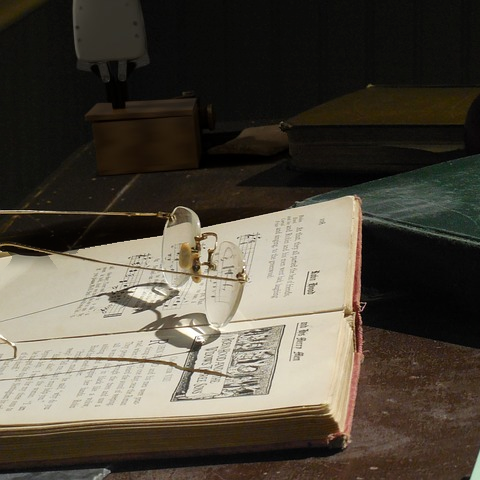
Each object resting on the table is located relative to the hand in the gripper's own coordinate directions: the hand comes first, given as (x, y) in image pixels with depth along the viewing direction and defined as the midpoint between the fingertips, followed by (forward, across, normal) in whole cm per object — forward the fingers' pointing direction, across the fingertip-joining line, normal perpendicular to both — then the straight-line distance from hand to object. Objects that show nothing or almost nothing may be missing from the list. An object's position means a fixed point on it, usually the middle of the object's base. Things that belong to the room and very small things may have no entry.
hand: (119, 107), depth 143 cm
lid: (+1, -4, 0) cm, 4 cm away
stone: (+9, -20, -3) cm, 22 cm away
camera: (+9, -10, -14) cm, 20 cm away
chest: (+9, -4, 0) cm, 10 cm away
